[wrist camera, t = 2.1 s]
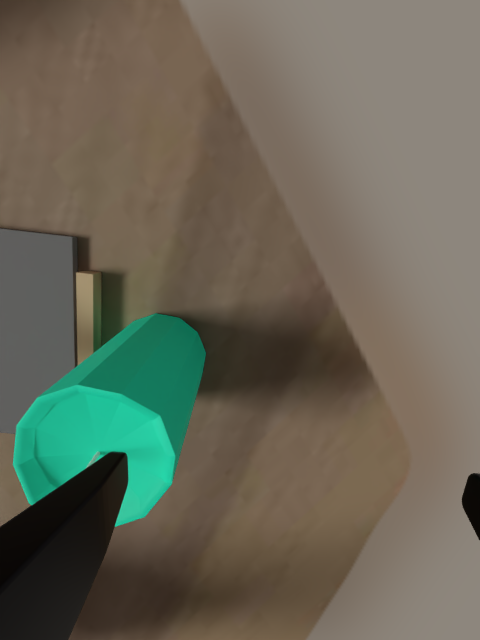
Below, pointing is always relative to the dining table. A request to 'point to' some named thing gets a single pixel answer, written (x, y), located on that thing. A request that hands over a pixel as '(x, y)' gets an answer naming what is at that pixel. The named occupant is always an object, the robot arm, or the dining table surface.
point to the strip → (88, 313)
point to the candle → (116, 413)
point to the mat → (35, 318)
